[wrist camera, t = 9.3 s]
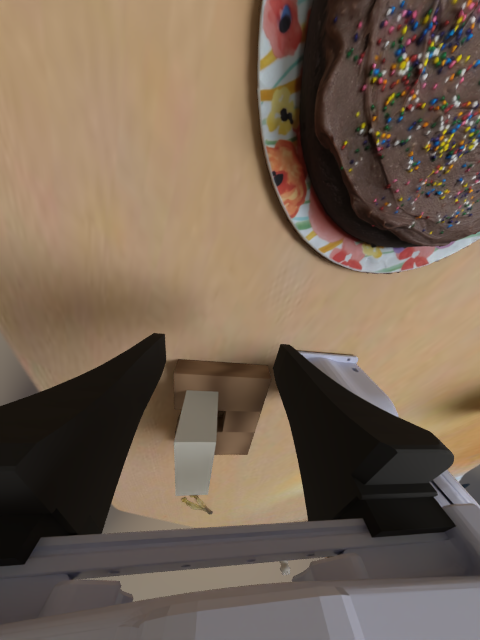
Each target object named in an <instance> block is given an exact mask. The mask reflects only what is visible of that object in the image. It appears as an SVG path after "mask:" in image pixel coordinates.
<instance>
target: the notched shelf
mask: <svg viewBox="0 0 480 640" xmlns="http://www.w3.org/2000/svg"><path fill="white" fill-rule="evenodd" d="M270 382H271V376H270V373H269V369H268V366H267V365H254V364H239V363H225V362H210V361H195V360H180V359H179V360H178V363H177V366H176V368H175V371H174V404H175V409H180V410H182V407H183V403H184V399H185V395H186V391H187V390H190V391H212V392H218V411H224V413H223V416H217V434H216V446H215V452H214V455H248V451H249V448H250V445H251V442H252V439H253V436H254V433H255V429H256V426H257V423H258V420H259V417H260V414H261V410H262V407H263V404H264V401H265V398H266V395H267V392H268V388H269V385H270ZM179 420H180V415H179V419H178V423H177V427H176V431H175V436H176V432H177V428H178V424H179Z"/></svg>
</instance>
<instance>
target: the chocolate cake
mask: <svg viewBox="0 0 480 640" xmlns="http://www.w3.org/2000/svg"><path fill="white" fill-rule="evenodd" d="M257 78H258V89H257V90H256V91H257V96H258V109H259V116H260V136H261V140H262V146H263V152H264V156H265V160H266V165H267V167H268V170H269V173H270V176H271V183H272V185H273V188H274V191H275V193H276V195H277V197H278V199H279V201H280V204H281V206H282V209H283V210H284V212H285V214H286V217H287V219H288V221H290V223H291V225H292V226H293V227H294V229H295V231H296V232H297V233H298V234H299V236H300V237H301V239H302V240H303V241H305V242H306V243H307V244H308V245H309V246H310V247H311V248H313V249H314V250H315V251H316V252H317V253H318V254H319V255H320V256H321V257H325V258H327V259H328V260H330V261H331V262H334V263H336V264H339V265H341V266H343V267H345V268H348V269H351V270H355V271H360V272H366V273H374V274H378V273H383V274H391V273H393V272H397V273H399V272H401V271H406V270H412V269H416V268H420V267H423V266H426V265H429V264H431V263H433V262H436V261H439V260H440V259H443V258H446V257H448V256H450V255H452V254H454V253H456V252H457V251H459V250H461V249H463V248H466V247H468V246H469V245H470V244H472V243H474V242H475V241H477V240H478V239H480V0H261V4H260V8H259V38H258V64H257Z"/></svg>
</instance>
